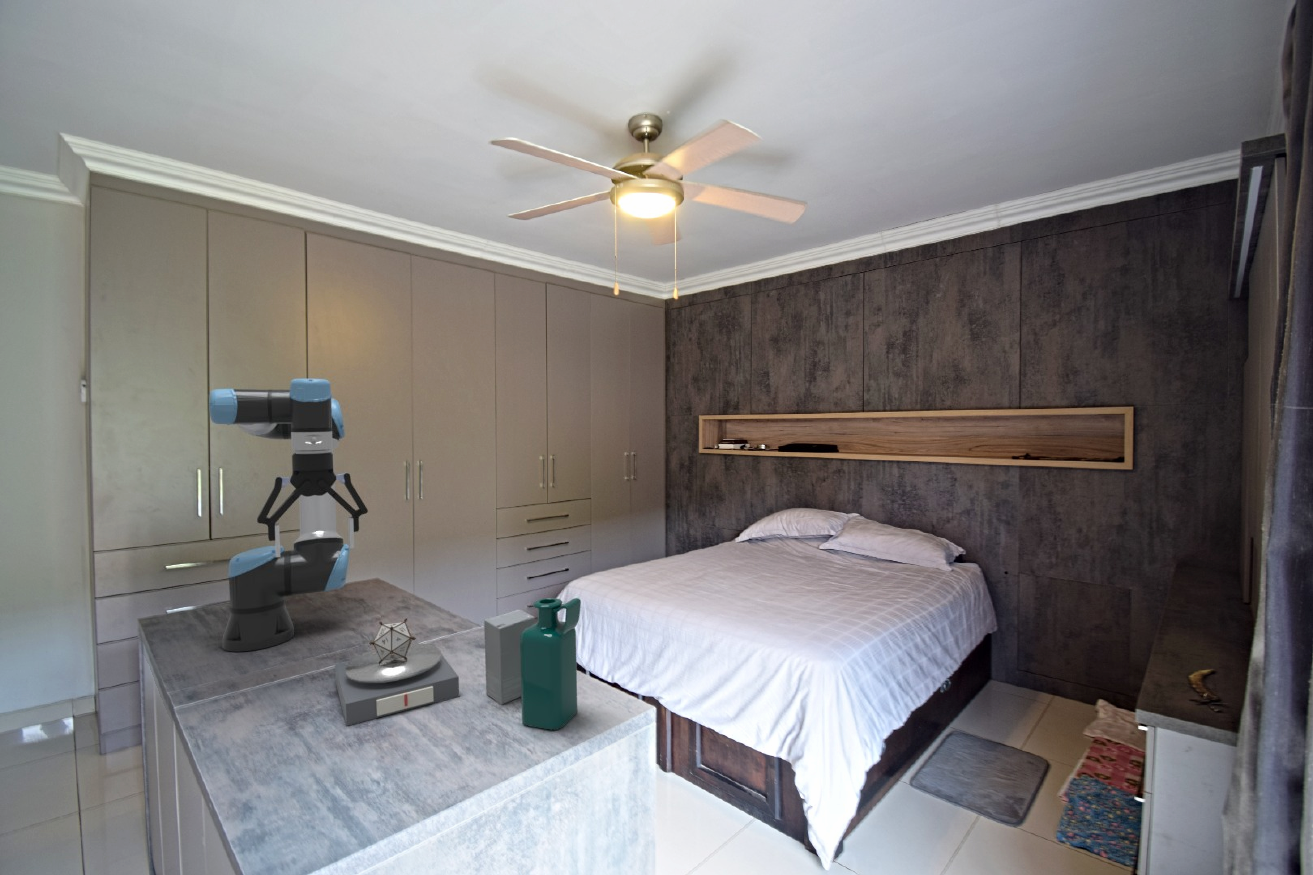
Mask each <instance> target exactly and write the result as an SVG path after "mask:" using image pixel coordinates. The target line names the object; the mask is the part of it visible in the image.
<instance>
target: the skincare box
mask: <svg viewBox="0 0 1313 875" xmlns="http://www.w3.org/2000/svg"><path fill="white" fill-rule="evenodd" d="M483 621H484V622H483V624H484V625H483V627H484V659H485V664H484V665H485V685H486V686H485V690H486V691H485V692H486V695H487V696H489V697H491V699H493V700H494V701H496V702H497V703H498V704H500V705H505V704H507V703H509V702H512V701H513V700H516V699H518V698H521V665H520V636H521V634H522V632H523V631H524V630H525V629H527V628H528V627H530V626H532V625H533V624H535V623H536V617H535V616H534V615H532V614H530V613H527V612H525V611H524V610H522V609H519V608H518V609H514V610H512V611H511V610H510V611H508V612H506V613H503V614H499V615H496V616H492V617H488V618H485V619H484V620H483Z"/></svg>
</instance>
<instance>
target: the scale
mask: <svg viewBox="0 0 1313 875" xmlns="http://www.w3.org/2000/svg"><path fill="white" fill-rule="evenodd" d="M427 644H428V645H432V646H435V647H437V646H436V644H435V643H434V642H431V643H427ZM351 660H352V659H349V660H345V661H340V662H335V663H334V672H335V673H334V674H335V675H334V676H335V677H334V678H335V685H336V690H337V693H338V694H337V695H338V697H339V701H340V704H341V705H340V706H341V710H342V713H343V718H344V721H345V725H346V727H348V726H351V725H356V724H360V723H363V722H367V721H370V720H374V719H377V718H381V717H382V718H383V717H385V716H389V715H393V714H397V713H401V712H405V711H409V710H413V709H417V708H420V707H424V706H428V705H432V704H436V703H439V702H442V701H446V700H447V701H448V700H451V699H454V698H458V697H460V680H459V679H460V678H459V675H458V674H457V672H456V671H455V670H454V668H453V667H452V665H451V664H450V662H448V660H447V659H446V658H445V656H444V655H443V654H442V653H441V660H440V662H439V663H438V664H437V665H436V666H434V667H433V668H431V669H430V670H428V671H426V672H424V673H421V674H419V675H416V676H413V677H410V678H406V679H402V680H397V681H392V682H384V683H362V682H356V681H353V680H351V679H349V678H348V677H347V676H346V674H345V667H346V665H347V664H348V663H349V662H350V661H351Z"/></svg>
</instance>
